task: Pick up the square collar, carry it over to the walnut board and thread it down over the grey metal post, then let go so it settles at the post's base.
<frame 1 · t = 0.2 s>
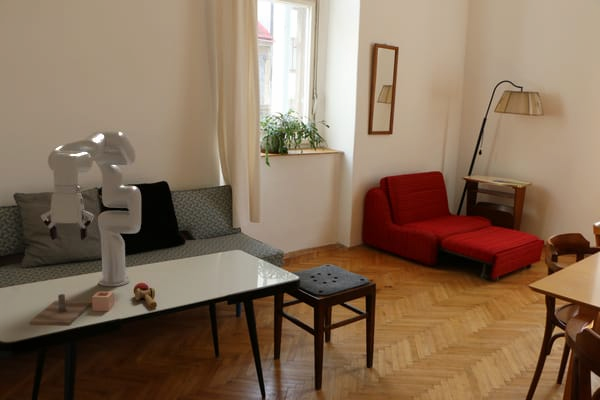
hand: (68, 238, 182), 30 cm above the table, fingers open, 9 cm apart
collar: (103, 308, 201), on the table
post block: (62, 313, 195), on the table
kendama: (146, 302, 209), on the table
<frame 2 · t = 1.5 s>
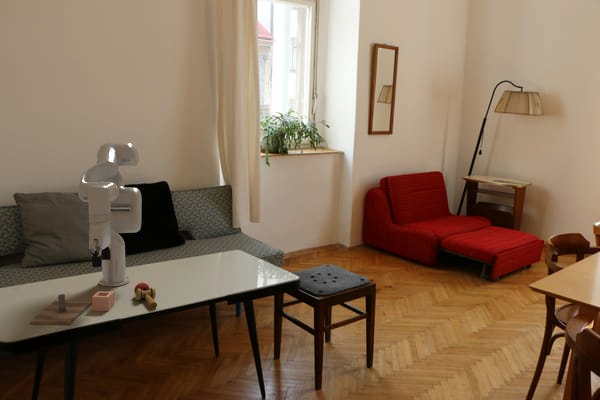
hand: (101, 263, 198), 18 cm above the table, fingers open, 9 cm apart
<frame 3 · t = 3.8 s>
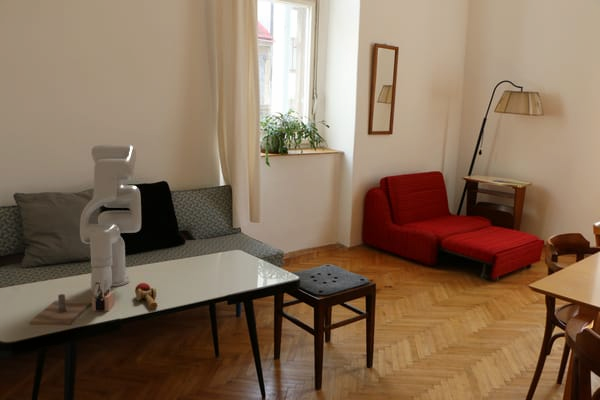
hand: (103, 306, 201), 1 cm above the table, fingers closed on collar, 6 cm apart
collar: (103, 308, 201), on the table, touching gripper
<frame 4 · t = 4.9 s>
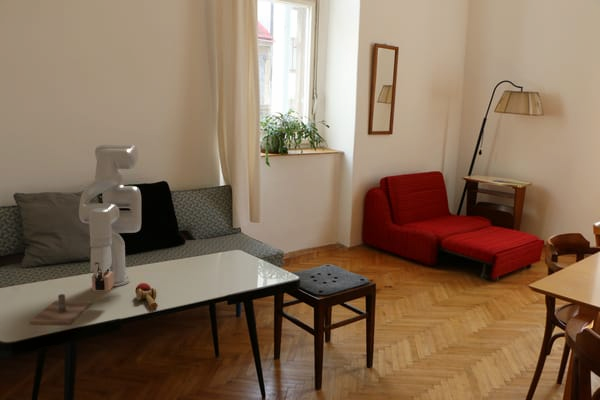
hand: (103, 286, 201), 8 cm above the table, fingers closed on collar, 6 cm apart
collar: (103, 287, 201), point 8 cm above the table, touching gripper
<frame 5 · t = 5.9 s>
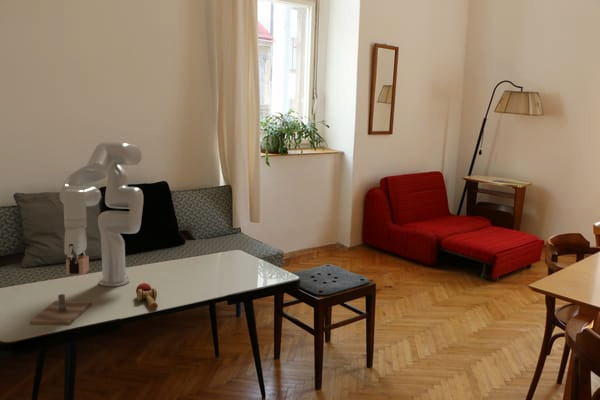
hand: (77, 270, 195), 16 cm above the table, fingers closed on collar, 6 cm apart
collar: (78, 272, 195), point 15 cm above the table, touching gripper
when the fingers open (5 cm above the table, at t = 8.4 s): collar drops 3 cm, resting on post block.
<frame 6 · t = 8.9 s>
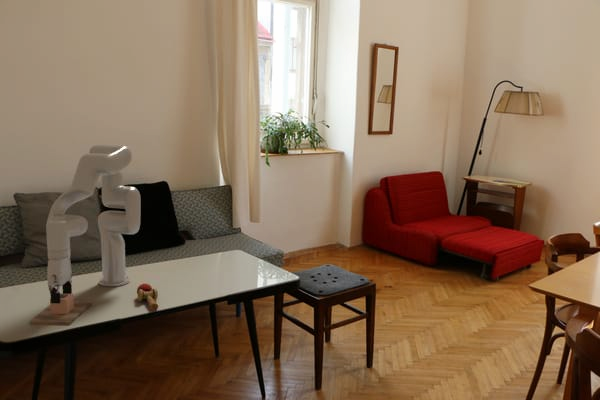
hand: (61, 298, 194), 6 cm above the table, fingers open, 9 cm apart
collar: (62, 310, 195), point 1 cm above the table, touching post block
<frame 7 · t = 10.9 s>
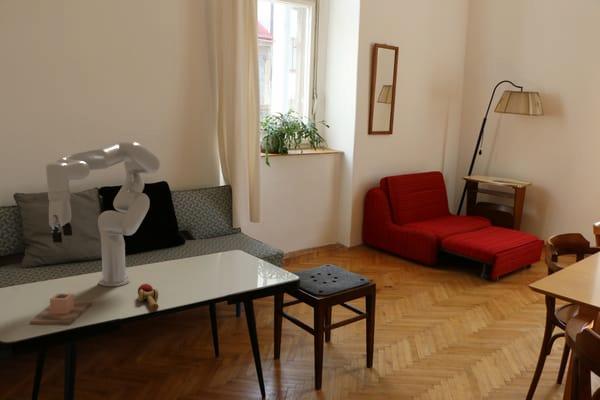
hand: (62, 238, 204), 25 cm above the table, fingers open, 9 cm apart
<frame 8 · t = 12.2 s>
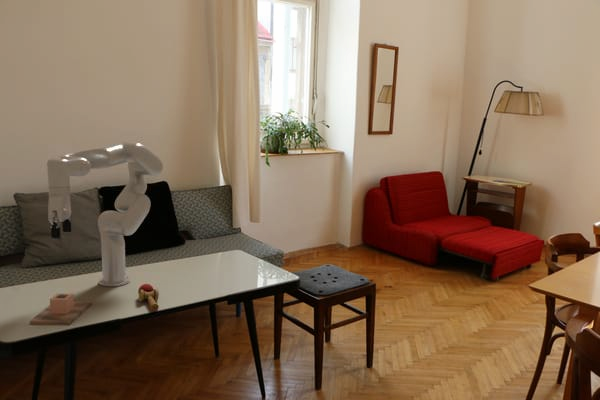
hand: (61, 234, 205), 26 cm above the table, fingers open, 9 cm apart
at the end: collar 0.1 cm from the post block (horizontally); collar point 1.0 cm above the table; the gripper is holding nothing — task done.
